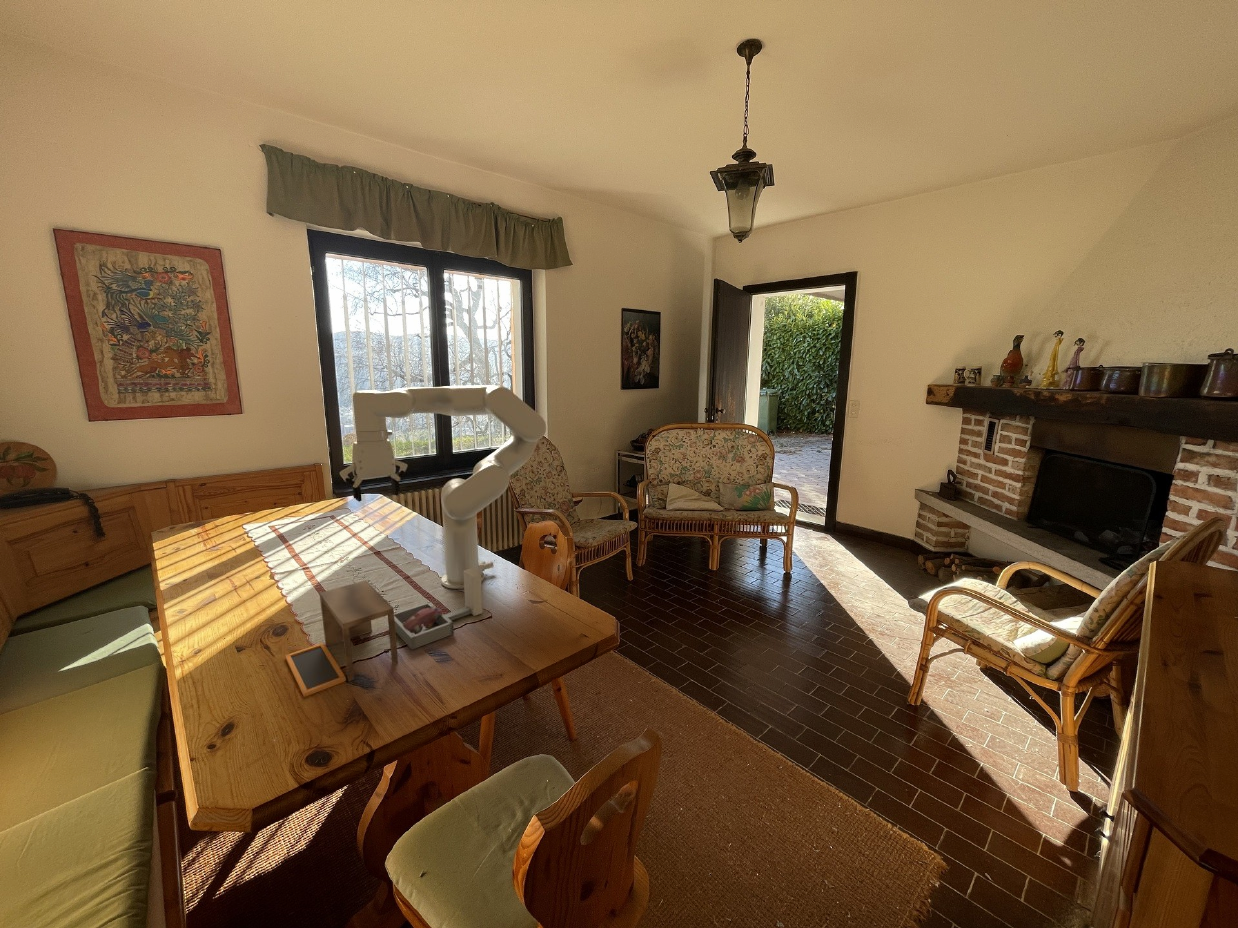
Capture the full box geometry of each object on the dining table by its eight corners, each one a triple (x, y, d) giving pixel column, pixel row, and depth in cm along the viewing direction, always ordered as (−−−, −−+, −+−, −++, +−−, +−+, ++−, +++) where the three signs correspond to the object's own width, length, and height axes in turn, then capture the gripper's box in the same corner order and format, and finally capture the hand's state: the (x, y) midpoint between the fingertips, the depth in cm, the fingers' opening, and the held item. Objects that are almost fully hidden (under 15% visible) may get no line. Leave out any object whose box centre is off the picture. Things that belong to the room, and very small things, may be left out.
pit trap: (323, 645, 116) (323, 642, 116) (345, 680, 104) (345, 677, 103) (285, 658, 111) (285, 655, 111) (304, 697, 98) (303, 693, 98)
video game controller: (406, 646, 119) (412, 626, 116) (395, 633, 121) (401, 613, 118) (440, 627, 127) (447, 608, 124) (429, 615, 129) (435, 596, 126)
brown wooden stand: (370, 629, 123) (365, 580, 121) (398, 662, 110) (393, 607, 107) (325, 644, 117) (319, 592, 114) (349, 681, 103) (342, 624, 101)
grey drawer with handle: (465, 599, 138) (463, 563, 136) (491, 619, 128) (489, 579, 126) (390, 625, 125) (386, 585, 122) (412, 649, 114) (408, 605, 112)
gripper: (399, 432, 143) (403, 489, 146) (332, 437, 131) (339, 500, 134) (409, 435, 137) (413, 494, 141) (340, 441, 126) (347, 506, 129)
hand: (377, 497), depth 138 cm, fingers open, 9 cm apart
